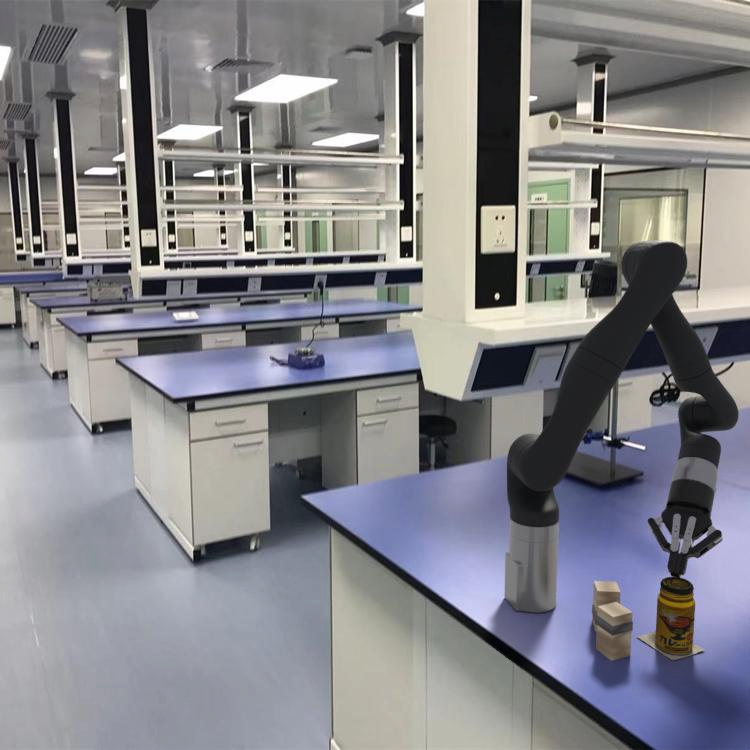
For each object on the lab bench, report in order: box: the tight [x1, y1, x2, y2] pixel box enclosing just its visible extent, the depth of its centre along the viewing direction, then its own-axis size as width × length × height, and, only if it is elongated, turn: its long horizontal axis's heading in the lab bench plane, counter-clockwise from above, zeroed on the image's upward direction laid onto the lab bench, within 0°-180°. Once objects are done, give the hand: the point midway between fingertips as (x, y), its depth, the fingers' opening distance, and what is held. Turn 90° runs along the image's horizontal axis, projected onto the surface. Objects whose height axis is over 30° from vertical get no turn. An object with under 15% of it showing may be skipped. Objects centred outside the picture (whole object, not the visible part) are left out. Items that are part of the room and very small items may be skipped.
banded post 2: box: [595, 602, 634, 662], centre depth 126 cm, size 4×4×8 cm
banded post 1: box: [591, 580, 621, 633], centre depth 135 cm, size 4×4×8 cm
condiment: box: [637, 576, 705, 661], centre depth 128 cm, size 7×8×12 cm
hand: (675, 575), depth 128 cm, fingers closed
